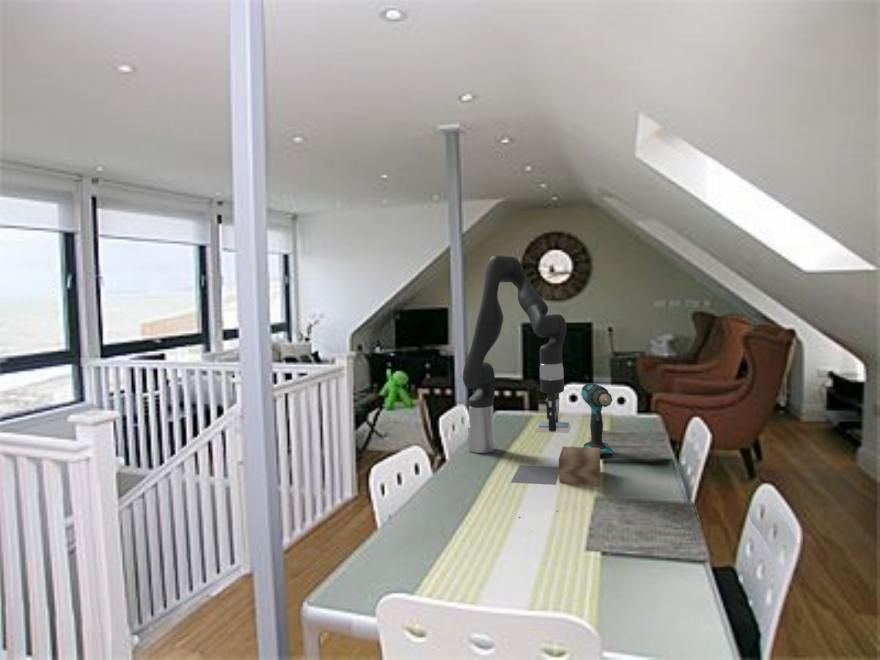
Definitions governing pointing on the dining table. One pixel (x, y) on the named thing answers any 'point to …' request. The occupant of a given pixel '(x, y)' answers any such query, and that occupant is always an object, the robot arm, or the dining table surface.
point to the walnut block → (579, 465)
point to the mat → (536, 475)
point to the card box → (560, 427)
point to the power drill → (596, 414)
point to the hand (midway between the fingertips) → (553, 428)
